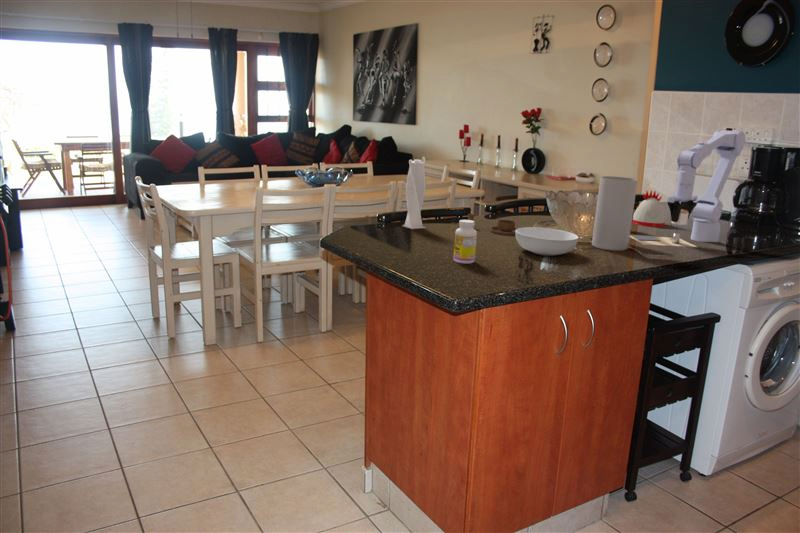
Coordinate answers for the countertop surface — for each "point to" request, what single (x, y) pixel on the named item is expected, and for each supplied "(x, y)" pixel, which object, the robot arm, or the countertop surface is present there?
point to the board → (665, 242)
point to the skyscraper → (415, 193)
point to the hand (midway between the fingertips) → (679, 221)
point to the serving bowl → (546, 240)
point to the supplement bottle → (465, 242)
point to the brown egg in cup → (682, 218)
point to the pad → (645, 238)
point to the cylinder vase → (614, 213)
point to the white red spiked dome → (650, 211)
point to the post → (676, 238)
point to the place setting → (500, 226)
